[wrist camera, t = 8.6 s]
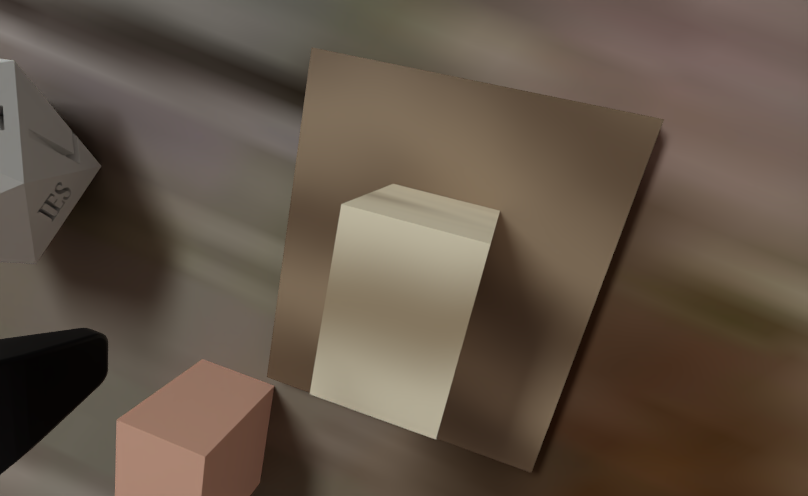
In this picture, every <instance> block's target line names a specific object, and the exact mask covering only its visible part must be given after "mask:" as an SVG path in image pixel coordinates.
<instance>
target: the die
mask: <svg viewBox="0 0 808 496" xmlns="http://www.w3.org/2000/svg"><path fill="white" fill-rule="evenodd" d="M100 168H101V165H100V164H99V163H98V161H97V160H96V159H95V158H94V157H93V155H92V154H91V153H90V152H89V151H88V149H87V148H86V147H85V146H84V144H83V143H82V142H81V141H80V140H79V138H78V137H77V136H76V135H75V134H73V132H72V130H71V129H70V128H69V126H68V125H67V124H66V123H65V122H64V120H63V119H62V118H61V117H60V116H59V114H58V113H57V112H56V111H55V109H54V108H53V107H52V106H51V105H50V103H49V102H48V101H47V100H46V99H45V97H44V96H43V95H42V94H41V93H40V91H39V90H38V89H37V88H36V87H35V85H34V84H33V83H32V82H31V80H30V79H29V78H28V77H27V76H26V74H25V73H24V72H23V71H22V70H21V68H20V67H19V66H18V65H17V64H16V62H15V61H13V60H6V59H0V262H10V263H26V264H36V263H37V262H38V260H39V259H40V257H41V256H42V254H43V253H44V251H45V250H46V248H47V247H48V245H49V244H50V242H51V241H52V239H53V238H54V236H55V235H56V233H57V232H58V230H59V229H60V227H61V226H62V224H63V223H64V221H65V220H66V218H67V217H68V215H69V214H70V212H71V211H72V209H73V208H74V206H75V205H76V203H77V202H78V200H79V199H80V197H81V196H82V194H83V193H84V192H85V190H86V189H87V187H88V186H89V184H90V183H91V181H92V180H93V178H94V177H95V175H96V174H97V172H98V171H99V169H100Z"/></svg>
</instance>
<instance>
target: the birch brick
mask: <svg viewBox="0 0 808 496" xmlns="http://www.w3.org/2000/svg"><path fill="white" fill-rule="evenodd" d="M499 213H500V211H499V210H495V209H491V208H487V207H483V206H479V205H475V204H471V203H467V202H463V201H459V200H455V199H452V198H448V197H444V196H440V195H436V194H432V193H428V192H424V191H420V190H416V189H412V188H408V187H404V186H400V185H396V184H391V185H389V186H386V187H384V188H381V189H379V190H376V191H374V192H371V193H368V194H366V195H363V196H361V197H358V198H356V199H353V200H350V201H348V202H345V203H343V204H341V209H340V215H339V221H338V227H337V233H336V239H335V245H334V251H333V257H332V263H331V269H330V275H329V281H328V287H327V293H326V299H325V305H324V311H323V317H322V323H321V329H320V335H319V341H318V347H317V353H316V359H315V365H314V371H313V377H312V382H311V388H310V394H311V395H313V396H316V397H319V398H322V399H324V400H327V401H330V402H333V403H336V404H338V405H341V406H344V407H347V408H349V409H352V410H355V411H358V412H361V413H363V414H366V415H369V416H372V417H375V418H377V419H380V420H383V421H386V422H388V423H391V424H394V425H397V426H400V427H402V428H405V429H408V430H411V431H413V432H416V433H419V434H422V435H425V436H427V437H430V438H433V439H436V437H437V434H438V430H439V427H440V423H441V420H442V416H443V413H444V409H445V406H446V402H447V398H448V395H449V391H450V388H451V384H452V381H453V377H454V374H455V370H456V366H457V363H458V359H459V356H460V352H461V349H462V345H463V342H464V338H465V334H466V331H467V327H468V324H469V320H470V316H471V313H472V309H473V306H474V302H475V299H476V295H477V291H478V288H479V284H480V281H481V277H482V274H483V270H484V266H485V263H486V259H487V256H488V252H489V248H490V245H491V241H492V238H493V234H494V231H495V227H496V223H497V220H498V216H499Z"/></svg>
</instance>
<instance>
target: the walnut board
mask: <svg viewBox="0 0 808 496" xmlns="http://www.w3.org/2000/svg"><path fill="white" fill-rule="evenodd" d="M663 120H664V119H659V118H655V117H650V116H645V115H640V114H635V113H630V112H625V111H620V110H615V109H610V108H606V107H601V106H596V105H591V104H586V103H581V102H576V101H571V100H566V99H561V98H557V97H552V96H547V95H542V94H537V93H532V92H527V91H522V90H517V89H513V88H508V87H503V86H498V85H493V84H488V83H483V82H478V81H473V80H468V79H464V78H459V77H454V76H449V75H444V74H439V73H434V72H429V71H424V70H419V69H415V68H410V67H405V66H400V65H395V64H390V63H385V62H380V61H375V60H371V59H366V58H361V57H356V56H351V55H346V54H341V53H336V52H331V51H326V50H322V49H317V48H312V49H311V56H310V63H309V71H308V78H307V85H306V93H305V100H304V107H303V115H302V122H301V130H300V137H299V144H298V152H297V159H296V166H295V174H294V181H293V188H292V196H291V203H290V211H289V218H288V225H287V233H286V240H285V247H284V255H283V262H282V269H281V277H280V284H279V292H278V299H277V306H276V314H275V321H274V328H273V336H272V343H271V350H270V358H269V365H268V373H267V377H268V378H271V379H274V380H276V381H279V382H282V383H285V384H287V385H290V386H293V387H296V388H298V389H301V390H304V391H307V392H309V393H310V388H311V382H312V377H313V371H314V365H315V359H316V353H317V347H318V341H319V335H320V329H321V323H322V317H323V311H324V305H325V299H326V293H327V287H328V281H329V275H330V269H331V263H332V257H333V251H334V245H335V239H336V233H337V227H338V221H339V215H340V209H341V204H343V203H345V202H348V201H350V200H353V199H356V198H358V197H361V196H363V195H366V194H368V193H371V192H374V191H376V190H379V189H381V188H384V187H386V186H389V185H391V184H396V185H400V186H404V187H408V188H412V189H416V190H420V191H424V192H428V193H432V194H436V195H440V196H444V197H448V198H452V199H455V200H459V201H463V202H467V203H471V204H475V205H479V206H483V207H487V208H491V209H495V210H499V211H500V213H499V216H498V220H497V223H496V227H495V231H494V234H493V238H492V241H491V245H490V248H489V252H488V256H487V259H486V263H485V266H484V270H483V274H482V277H481V281H480V284H479V288H478V291H477V295H476V299H475V302H474V306H473V309H472V313H471V316H470V320H469V324H468V327H467V331H466V334H465V338H464V342H463V345H462V349H461V352H460V356H459V359H458V363H457V366H456V370H455V374H454V377H453V381H452V384H451V388H450V391H449V395H448V398H447V402H446V406H445V409H444V413H443V416H442V420H441V423H440V427H439V430H438V434H437V437H436V439H439V440H442V441H445V442H447V443H450V444H453V445H456V446H458V447H461V448H464V449H467V450H469V451H472V452H475V453H478V454H480V455H483V456H486V457H489V458H491V459H494V460H497V461H500V462H502V463H505V464H508V465H511V466H514V467H516V468H519V469H522V470H525V471H527V472H530V473H531V472H532V469H533V467H534V464H535V461H536V459H537V456H538V453H539V451H540V448H541V445H542V443H543V440H544V437H545V435H546V432H547V429H548V427H549V424H550V421H551V419H552V416H553V413H554V411H555V408H556V405H557V403H558V400H559V397H560V395H561V392H562V389H563V387H564V384H565V381H566V379H567V376H568V373H569V371H570V368H571V366H572V363H573V360H574V358H575V355H576V352H577V350H578V347H579V344H580V342H581V339H582V336H583V334H584V331H585V328H586V326H587V323H588V320H589V318H590V315H591V312H592V310H593V307H594V304H595V302H596V299H597V296H598V294H599V291H600V288H601V286H602V283H603V280H604V278H605V275H606V272H607V270H608V267H609V264H610V262H611V259H612V256H613V254H614V251H615V248H616V246H617V243H618V240H619V238H620V235H621V232H622V230H623V227H624V224H625V222H626V219H627V216H628V214H629V211H630V208H631V206H632V203H633V200H634V198H635V195H636V192H637V190H638V187H639V184H640V182H641V179H642V176H643V174H644V171H645V168H646V166H647V163H648V160H649V158H650V155H651V152H652V150H653V147H654V144H655V142H656V139H657V136H658V134H659V131H660V128H661V126H662V123H663Z"/></svg>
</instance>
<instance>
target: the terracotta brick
mask: <svg viewBox="0 0 808 496" xmlns="http://www.w3.org/2000/svg"><path fill="white" fill-rule="evenodd" d="M273 392H274V386H273V385H271V384H268V383H265V382H263V381H260V380H257V379H255V378H252V377H249V376H247V375H244V374H241V373H238V372H236V371H233V370H230V369H228V368H225V367H222V366H220V365H217V364H214V363H212V362H209V361H206V360H203V359H202V360H200V361H199V362H198V363H196V364H195V365H193V366H192V367H191V368H189V369H188V370H186V371H185V372H183V373H182V374H181V375H179V376H178V377H176V378H175V379H174V380H172V381H171V382H169V383H168V384H167V385H165V386H164V387H162V388H161V389H159V390H158V391H157V392H155V393H154V394H152V395H151V396H150V397H148V398H147V399H145V400H144V401H143V402H141V403H140V404H138V405H137V406H135V407H134V408H133V409H131V410H130V411H128V412H127V413H126V414H124V415H123V416H121V417H120V418H119V419H117V427H116V475H115V496H250V495H251V494H252V493H253V491H254V490H255V489H256V487H257V486H258V485H259V483H260V479H261V472H262V466H263V459H264V452H265V446H266V439H267V432H268V426H269V419H270V412H271V405H272V399H273Z"/></svg>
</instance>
